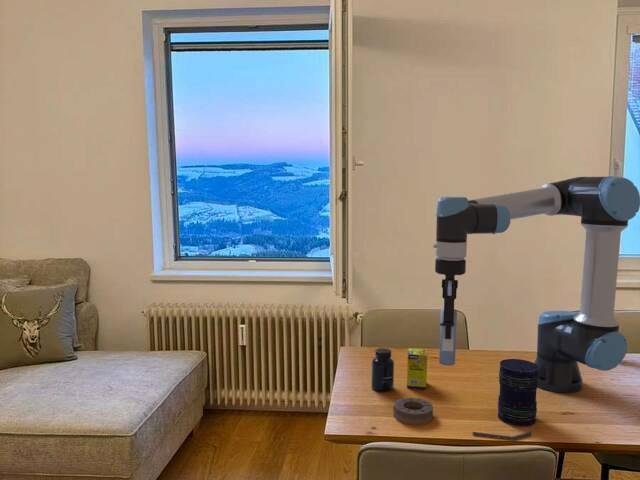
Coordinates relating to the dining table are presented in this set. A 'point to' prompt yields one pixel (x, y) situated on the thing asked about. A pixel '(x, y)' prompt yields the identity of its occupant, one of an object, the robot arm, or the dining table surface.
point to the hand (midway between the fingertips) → (447, 347)
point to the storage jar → (518, 392)
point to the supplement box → (417, 368)
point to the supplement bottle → (382, 371)
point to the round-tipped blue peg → (449, 356)
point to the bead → (413, 411)
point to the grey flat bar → (503, 435)
